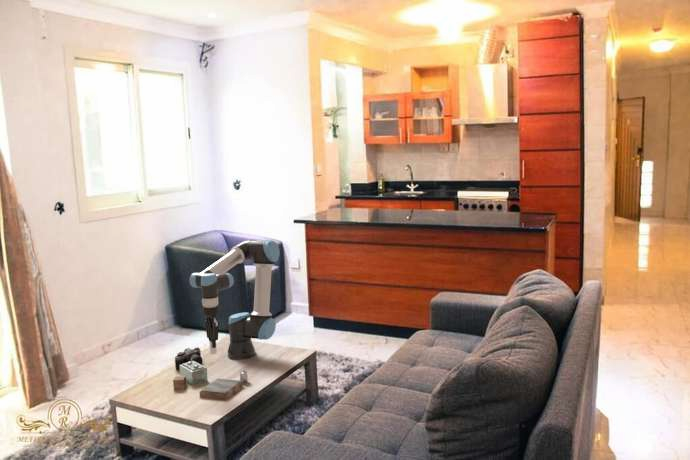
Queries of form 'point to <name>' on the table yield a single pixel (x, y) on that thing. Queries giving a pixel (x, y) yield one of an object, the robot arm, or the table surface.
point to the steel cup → (243, 377)
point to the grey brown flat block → (221, 389)
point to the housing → (193, 372)
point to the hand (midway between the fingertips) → (213, 353)
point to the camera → (188, 357)
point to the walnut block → (179, 382)
